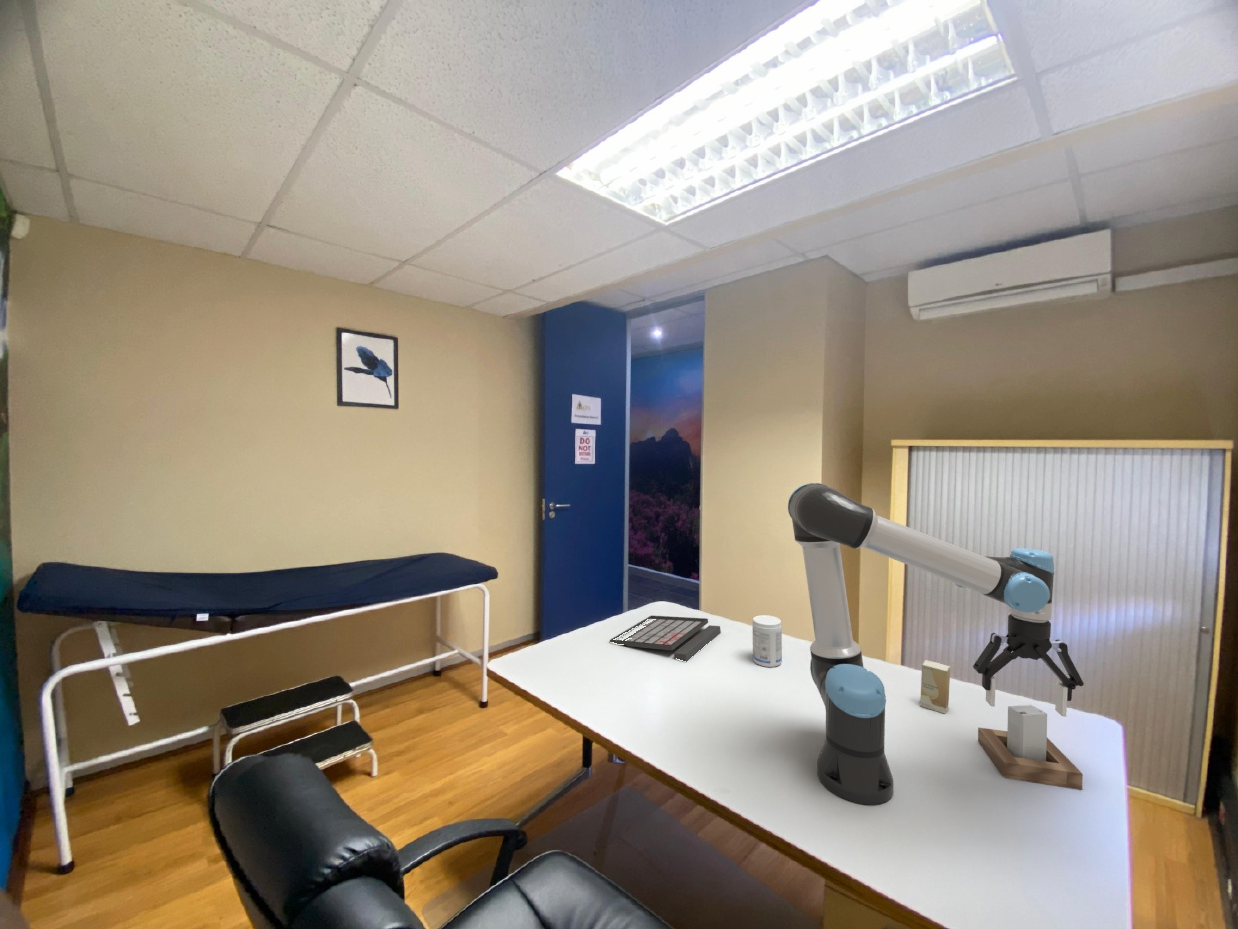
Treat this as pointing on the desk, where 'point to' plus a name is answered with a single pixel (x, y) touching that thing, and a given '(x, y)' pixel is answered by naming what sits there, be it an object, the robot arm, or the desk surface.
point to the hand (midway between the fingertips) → (1024, 708)
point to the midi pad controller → (672, 635)
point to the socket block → (1030, 762)
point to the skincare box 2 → (1027, 732)
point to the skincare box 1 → (935, 686)
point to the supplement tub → (767, 641)
